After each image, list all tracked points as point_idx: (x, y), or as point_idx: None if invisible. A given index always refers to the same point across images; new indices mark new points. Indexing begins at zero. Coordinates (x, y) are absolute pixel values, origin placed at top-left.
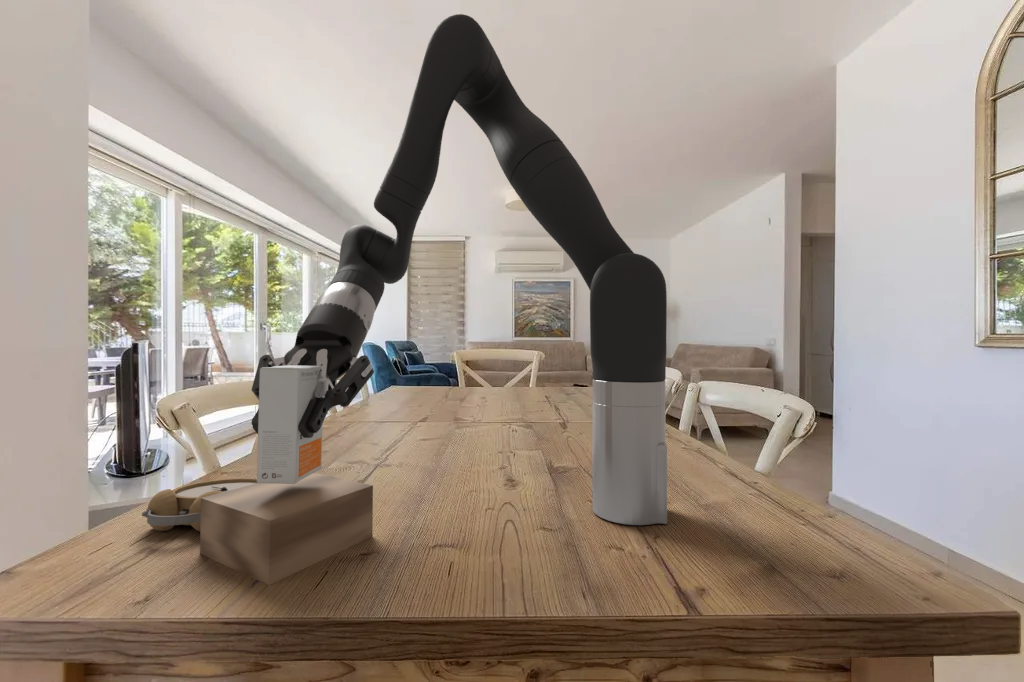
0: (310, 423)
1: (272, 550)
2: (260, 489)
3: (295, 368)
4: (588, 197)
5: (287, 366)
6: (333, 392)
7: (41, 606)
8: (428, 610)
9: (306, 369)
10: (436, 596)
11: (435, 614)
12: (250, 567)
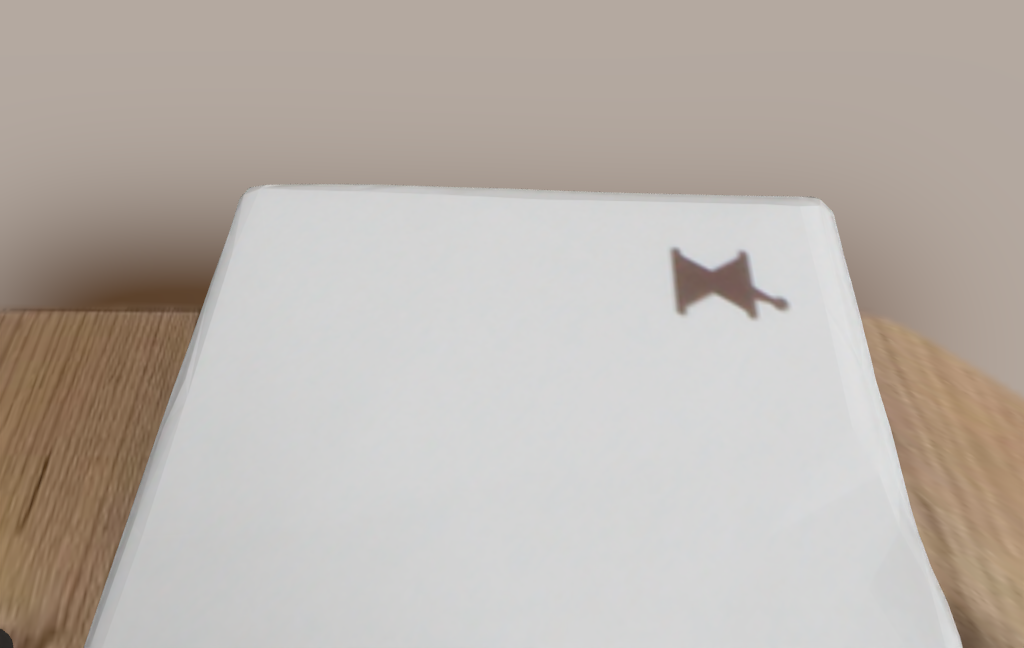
0: None
1: None
2: None
3: (291, 184)
4: None
5: (624, 597)
6: (9, 645)
7: (877, 347)
8: (120, 328)
9: (177, 391)
10: (96, 372)
11: (110, 317)
12: None
